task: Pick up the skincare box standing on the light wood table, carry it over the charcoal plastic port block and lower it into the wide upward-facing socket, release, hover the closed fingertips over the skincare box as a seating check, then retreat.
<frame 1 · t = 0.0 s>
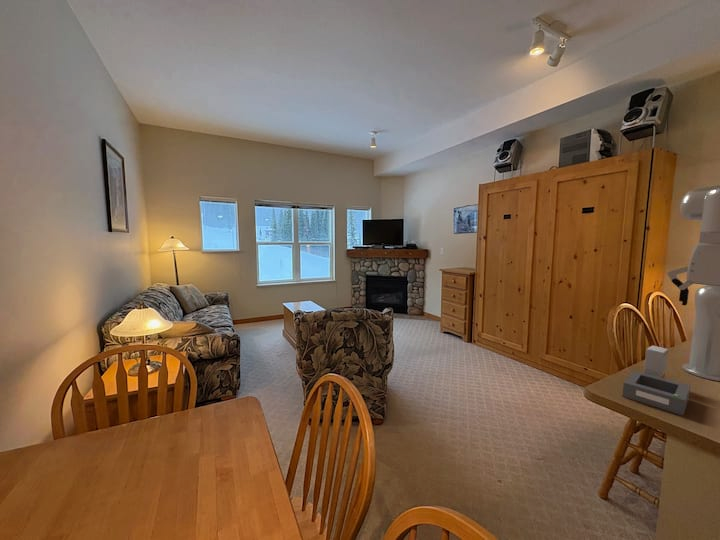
hand: (712, 308, 77), 31 cm above the counter, fingers open, 9 cm apart
port block: (655, 397, 94), on the counter
skincare box: (653, 383, 103), on the counter
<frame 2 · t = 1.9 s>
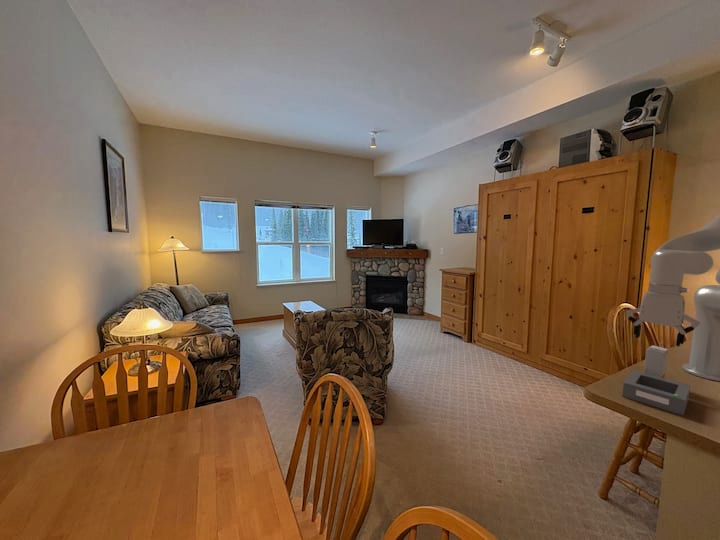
hand: (657, 341, 101), 15 cm above the counter, fingers open, 9 cm apart
nothing on the counter moved.
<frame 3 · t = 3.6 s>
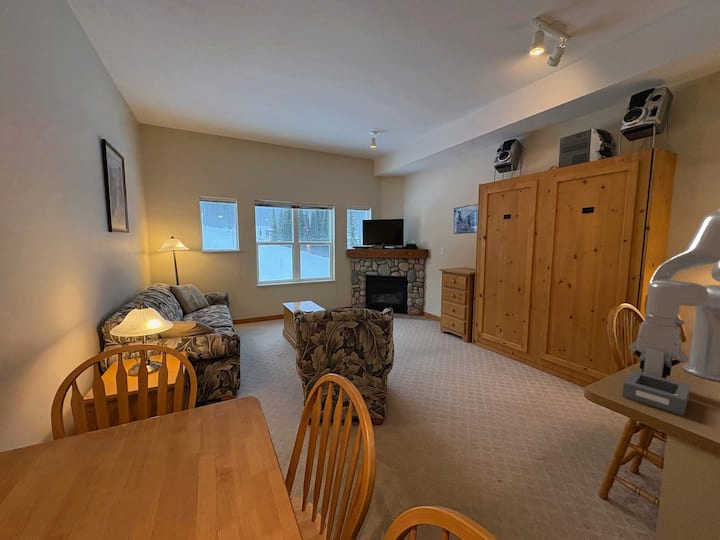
hand: (654, 373, 102), 3 cm above the counter, fingers closed on skincare box, 4 cm apart
skincare box: (653, 383, 103), on the counter, touching gripper
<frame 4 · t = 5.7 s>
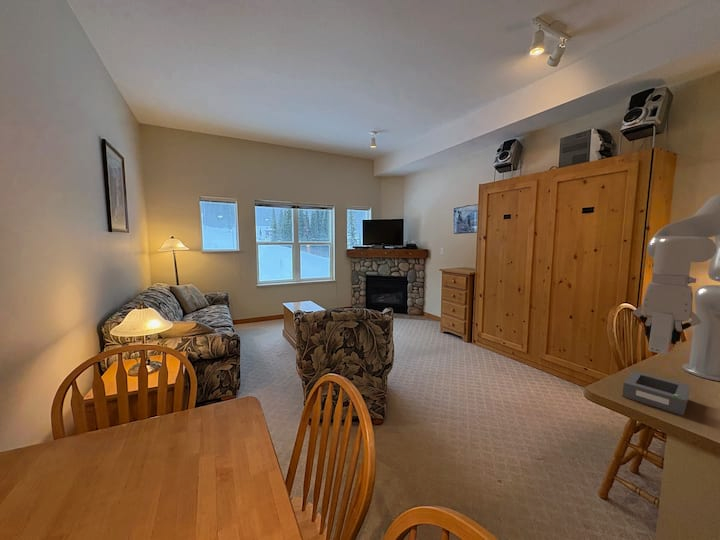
hand: (662, 340, 92), 18 cm above the counter, fingers closed on skincare box, 4 cm apart
skincare box: (660, 351, 92), point 15 cm above the counter, touching gripper
when the fingers open (5 cm above the counter, at t = 8.0 s): skincare box drops 1 cm, resting on port block.
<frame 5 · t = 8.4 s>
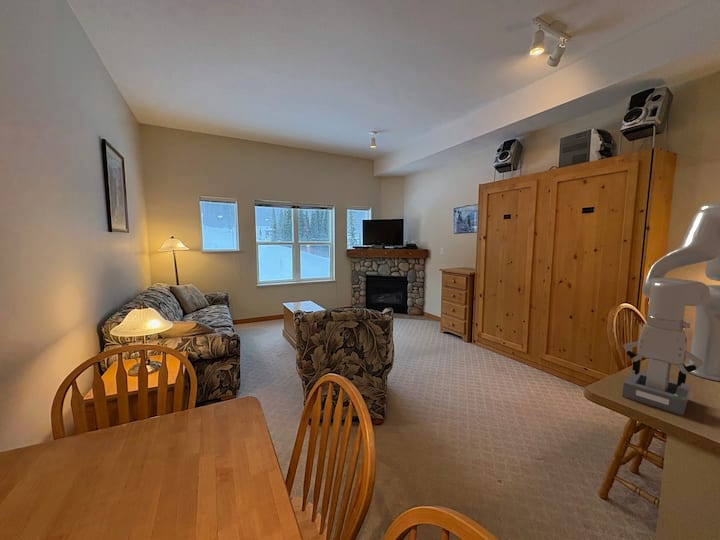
hand: (657, 378, 93), 6 cm above the counter, fingers open, 9 cm apart
skincare box: (655, 396, 94), resting on port block
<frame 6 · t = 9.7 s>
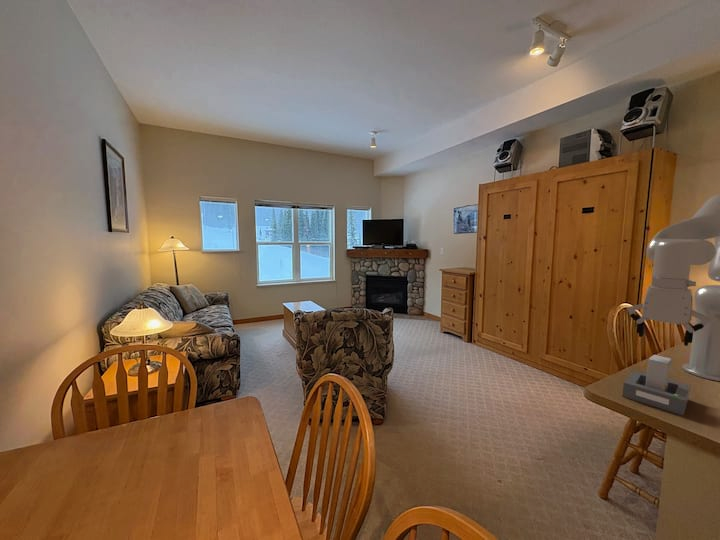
hand: (662, 340, 92), 18 cm above the counter, fingers open, 9 cm apart
nothing on the counter moved.
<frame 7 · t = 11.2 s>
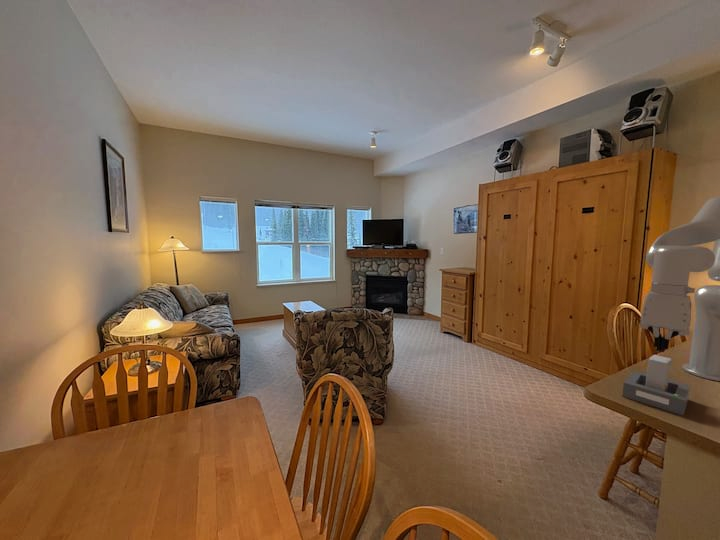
hand: (660, 350, 92), 15 cm above the counter, fingers closed
nothing on the counter moved.
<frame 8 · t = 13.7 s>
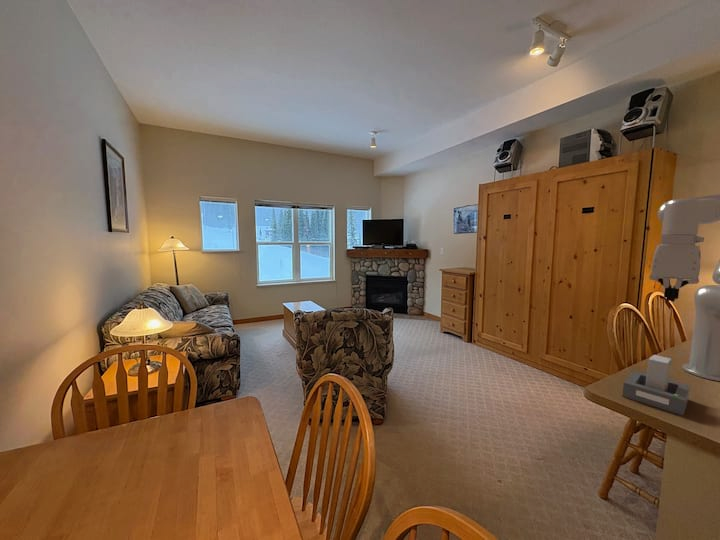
hand: (670, 300, 95), 29 cm above the counter, fingers closed
nothing on the counter moved.
at the end: skincare box 0.1 cm off-centre on the port block, point 0.3 cm above the port block's base; skincare box tilted 0°; the gripper is holding nothing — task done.
